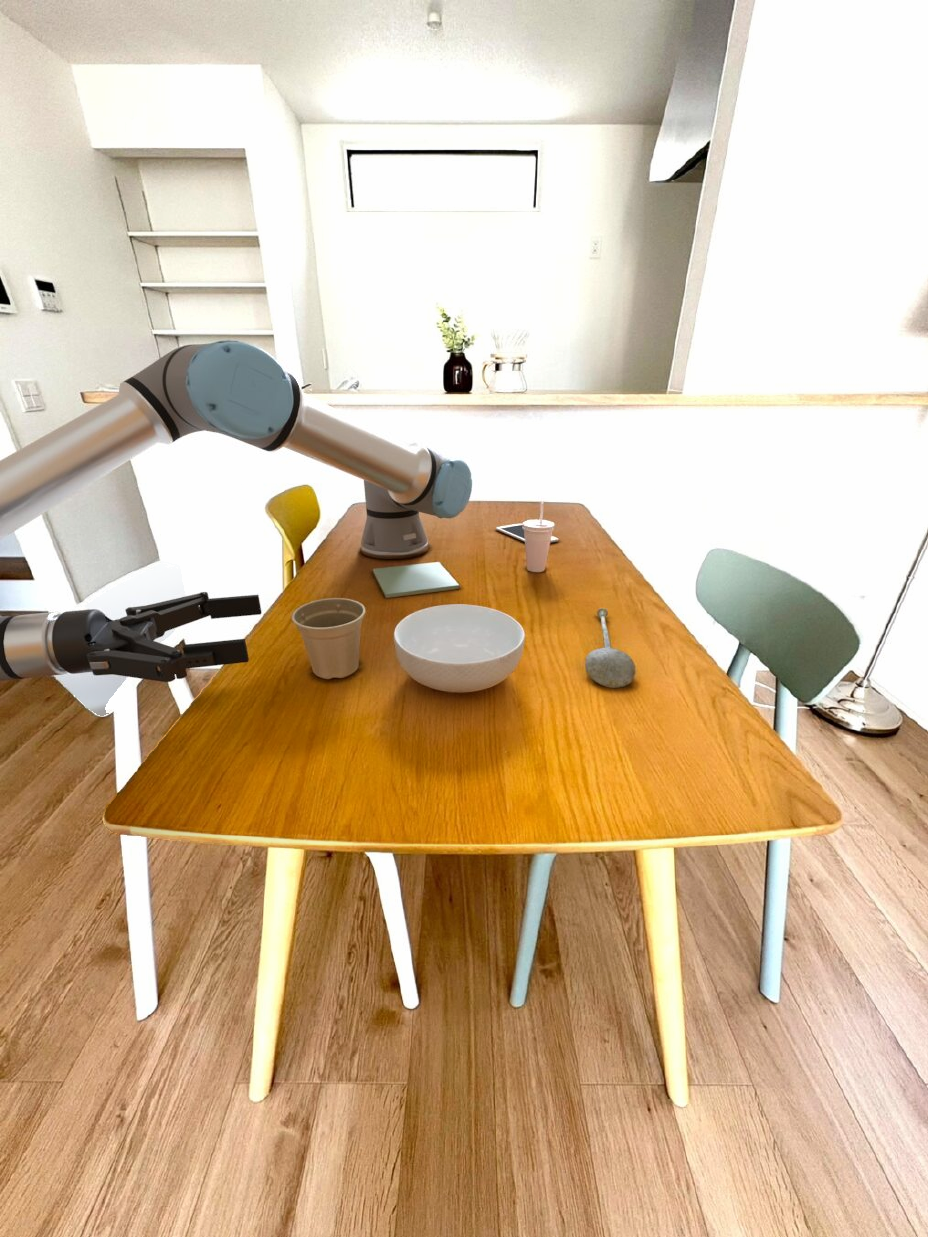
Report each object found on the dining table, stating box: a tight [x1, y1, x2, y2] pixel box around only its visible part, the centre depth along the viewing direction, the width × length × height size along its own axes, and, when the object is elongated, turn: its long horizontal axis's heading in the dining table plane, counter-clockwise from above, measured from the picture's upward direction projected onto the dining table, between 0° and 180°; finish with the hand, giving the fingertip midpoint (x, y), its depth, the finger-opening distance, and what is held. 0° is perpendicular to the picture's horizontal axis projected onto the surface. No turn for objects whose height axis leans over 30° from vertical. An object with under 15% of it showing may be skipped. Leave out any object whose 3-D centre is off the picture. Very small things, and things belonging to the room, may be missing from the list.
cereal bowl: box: [393, 603, 526, 694], centre depth 69 cm, size 17×17×7 cm
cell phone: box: [495, 523, 559, 544], centre depth 130 cm, size 8×16×1 cm, turn 30°
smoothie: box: [522, 501, 555, 573], centre depth 105 cm, size 6×6×14 cm
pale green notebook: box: [372, 561, 460, 599], centre depth 102 cm, size 14×14×1 cm
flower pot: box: [291, 597, 366, 680], centre depth 70 cm, size 9×9×9 cm
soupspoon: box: [584, 607, 636, 689], centre depth 77 cm, size 22×3×7 cm
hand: (254, 625), depth 67 cm, fingers open, 13 cm apart
